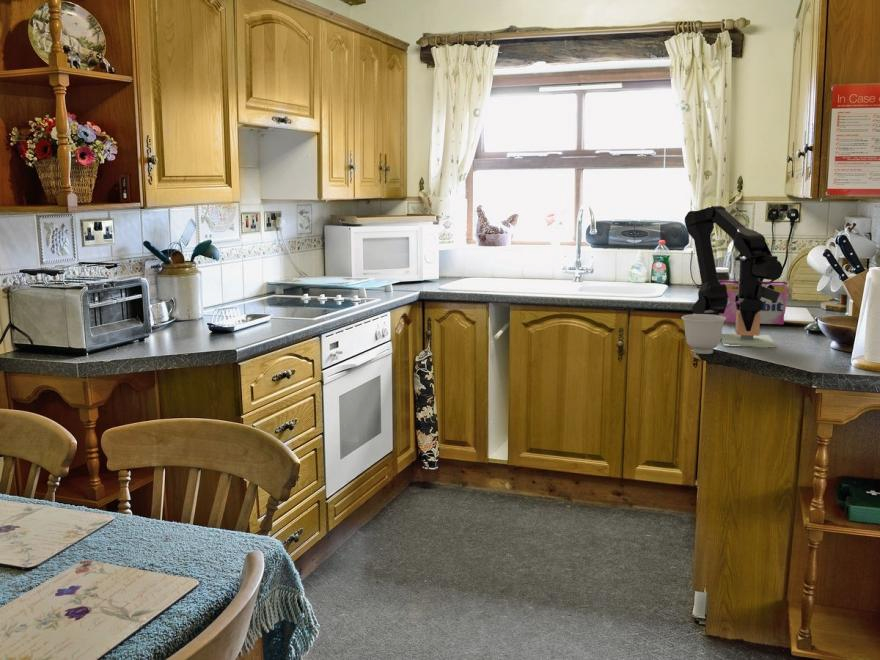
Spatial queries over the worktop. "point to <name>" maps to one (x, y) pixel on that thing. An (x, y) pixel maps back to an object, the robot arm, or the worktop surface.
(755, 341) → the post base
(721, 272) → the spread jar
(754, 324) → the salmon pink cube
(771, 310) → the gum box
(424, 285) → the worktop surface
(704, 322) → the teacup
